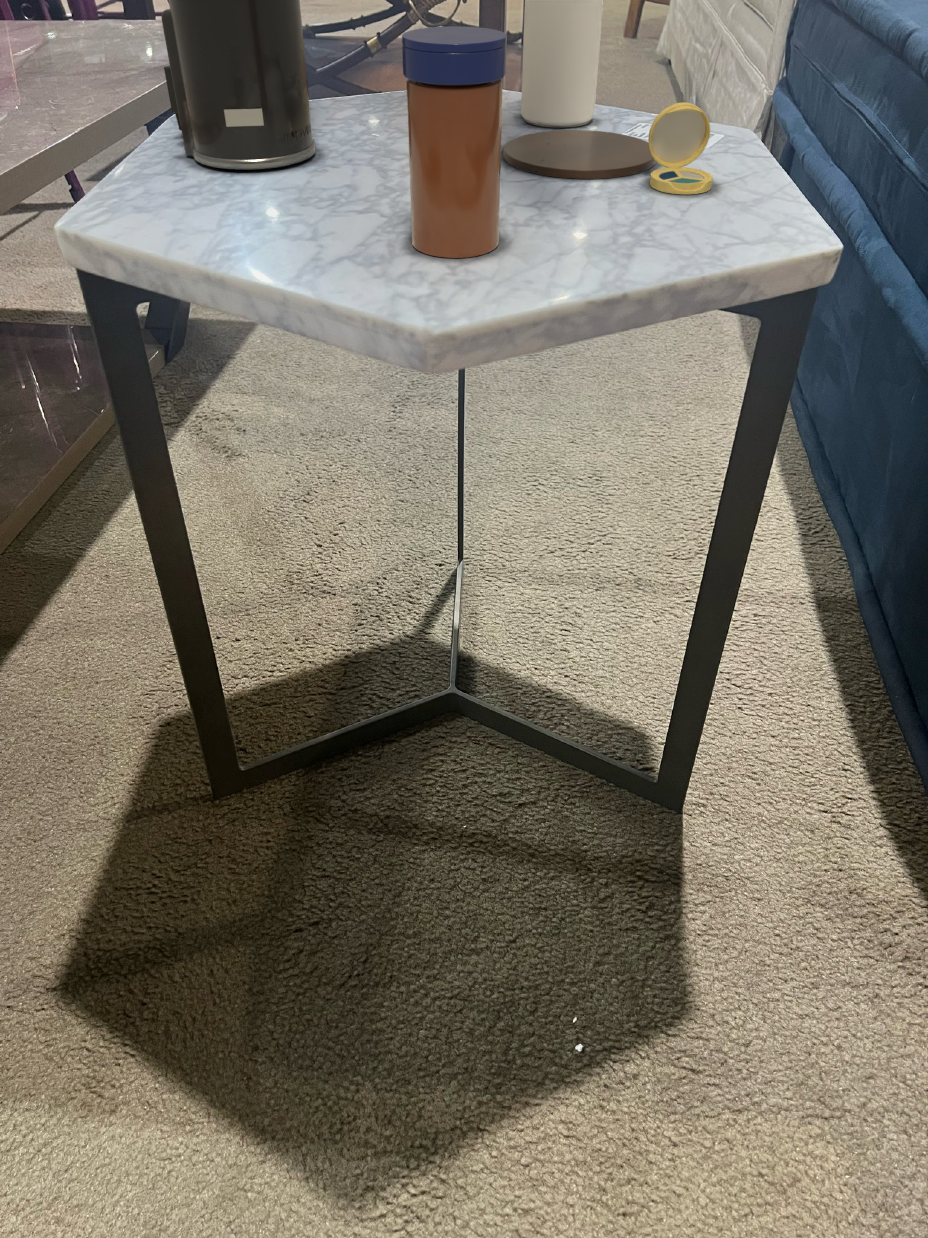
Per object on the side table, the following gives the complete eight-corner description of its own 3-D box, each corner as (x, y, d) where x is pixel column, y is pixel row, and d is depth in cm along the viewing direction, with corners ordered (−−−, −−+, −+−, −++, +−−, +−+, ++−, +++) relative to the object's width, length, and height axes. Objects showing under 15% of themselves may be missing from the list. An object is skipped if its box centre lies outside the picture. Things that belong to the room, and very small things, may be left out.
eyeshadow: (657, 194, 65) (667, 116, 62) (641, 174, 69) (650, 100, 66) (718, 193, 65) (732, 115, 62) (699, 173, 69) (711, 99, 66)
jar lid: (381, 77, 51) (379, 37, 50) (437, 60, 55) (436, 22, 53) (472, 89, 49) (472, 47, 47) (523, 70, 52) (525, 31, 51)
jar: (395, 247, 57) (385, 47, 50) (441, 223, 60) (438, 33, 54) (470, 264, 55) (471, 57, 48) (514, 237, 58) (521, 42, 51)
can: (508, 123, 81) (513, -45, 73) (538, 108, 85) (546, -52, 78) (576, 131, 79) (589, -41, 71) (604, 115, 83) (619, -49, 75)
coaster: (475, 163, 71) (475, 155, 71) (546, 130, 79) (546, 122, 79) (618, 187, 66) (619, 178, 66) (679, 149, 74) (680, 141, 74)
